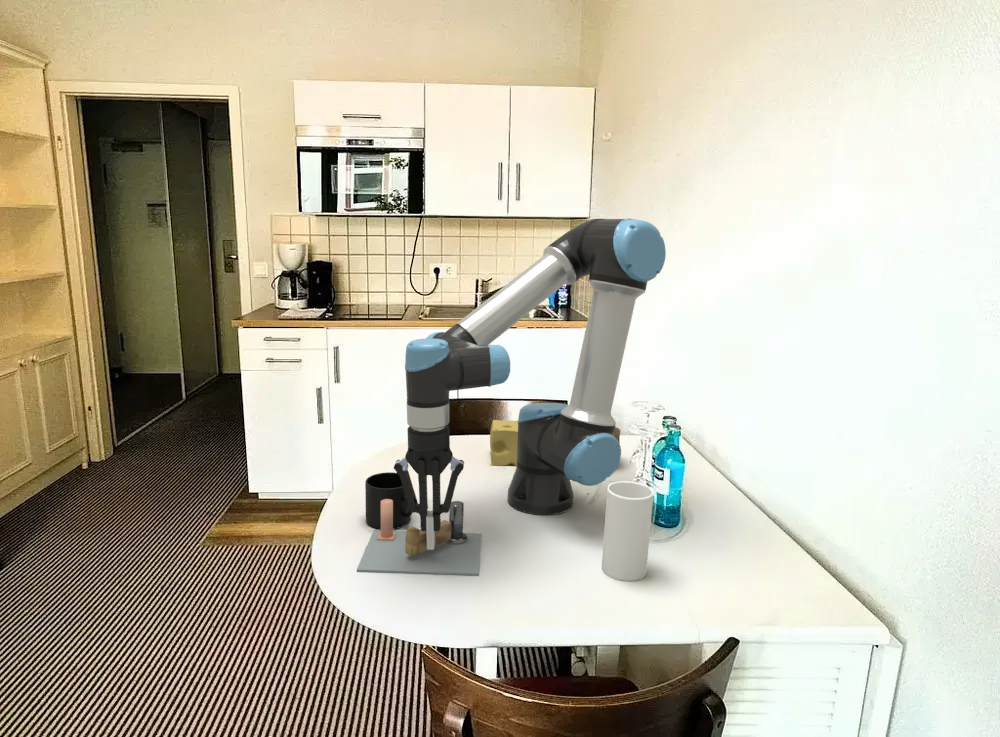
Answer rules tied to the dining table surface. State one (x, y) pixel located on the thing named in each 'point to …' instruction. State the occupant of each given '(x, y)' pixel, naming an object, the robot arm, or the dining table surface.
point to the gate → (425, 538)
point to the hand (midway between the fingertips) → (431, 545)
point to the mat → (421, 557)
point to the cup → (627, 530)
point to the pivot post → (457, 523)
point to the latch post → (386, 521)
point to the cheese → (504, 442)
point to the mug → (386, 489)
